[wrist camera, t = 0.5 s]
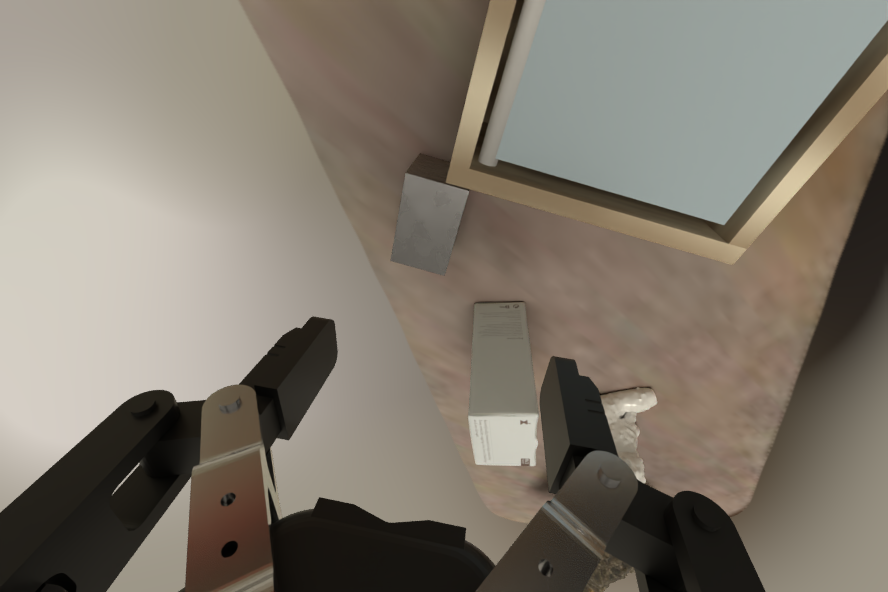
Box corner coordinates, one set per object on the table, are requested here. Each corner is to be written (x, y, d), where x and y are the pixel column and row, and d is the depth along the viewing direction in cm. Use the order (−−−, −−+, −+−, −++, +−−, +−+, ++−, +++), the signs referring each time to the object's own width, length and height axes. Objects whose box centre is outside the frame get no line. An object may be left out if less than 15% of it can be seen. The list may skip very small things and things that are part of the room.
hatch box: (543, -167, 20) (597, -436, 9) (803, -82, 20) (1171, -233, 9) (467, 129, 29) (445, 182, 18) (646, 181, 30) (732, 264, 19)
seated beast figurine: (632, 430, 49) (664, 524, 40) (570, 423, 50) (586, 513, 41) (656, 386, 44) (699, 482, 34) (585, 379, 45) (608, 471, 35)
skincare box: (473, 301, 40) (462, 411, 28) (528, 300, 39) (540, 414, 27) (479, 354, 45) (471, 467, 33) (527, 354, 44) (537, 471, 32)
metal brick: (420, 152, 31) (405, 172, 26) (474, 168, 31) (469, 191, 27) (405, 231, 36) (390, 260, 31) (452, 244, 36) (444, 275, 31)
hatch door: (607, -290, 10) (616, -317, 10) (1002, -155, 11) (1043, -171, 10) (478, 157, 18) (477, 162, 17) (710, 224, 19) (719, 233, 18)
